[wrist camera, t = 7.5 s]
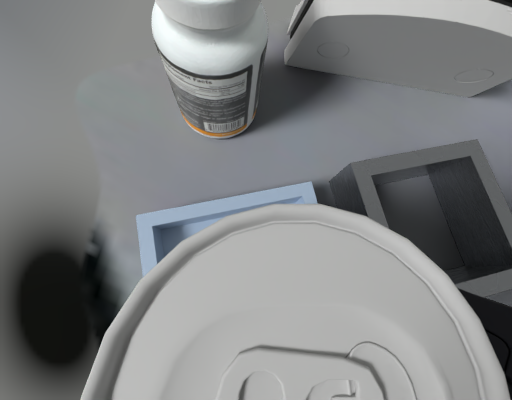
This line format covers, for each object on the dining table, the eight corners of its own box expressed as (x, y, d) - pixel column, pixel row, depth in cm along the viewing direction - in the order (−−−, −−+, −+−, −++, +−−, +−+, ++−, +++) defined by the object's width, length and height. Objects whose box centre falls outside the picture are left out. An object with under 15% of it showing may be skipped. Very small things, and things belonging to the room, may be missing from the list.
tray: (344, 350, 16) (364, 367, 13) (173, 401, 14) (160, 430, 12) (300, 192, 18) (311, 181, 15) (150, 222, 16) (135, 215, 14)
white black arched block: (467, 50, 23) (640, -47, 13) (455, 103, 23) (614, 49, 13) (287, 17, 22) (323, -118, 12) (279, 72, 22) (306, -11, 12)
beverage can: (285, 342, 14) (585, 800, 2) (198, 333, 13) (-45, 800, 2) (292, 253, 15) (501, 216, 3) (212, 243, 15) (125, 166, 3)
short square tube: (482, 276, 18) (542, 280, 14) (367, 308, 16) (402, 320, 13) (435, 160, 19) (477, 139, 16) (328, 181, 18) (350, 163, 15)
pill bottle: (205, 65, 20) (178, -119, 10) (268, 97, 20) (302, -60, 10) (166, 120, 18) (92, -35, 9) (234, 155, 18) (235, 36, 9)
